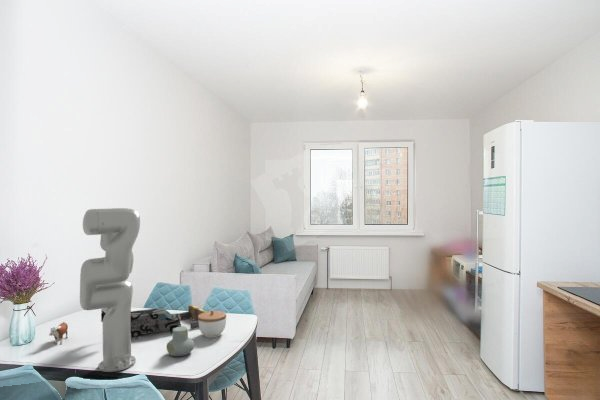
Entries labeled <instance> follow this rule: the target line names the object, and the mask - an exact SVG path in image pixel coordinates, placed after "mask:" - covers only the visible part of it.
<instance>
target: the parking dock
mask: <svg viewBox="0 0 600 400" xmlns="http://www.w3.org/2000/svg"><path fill="white" fill-rule="evenodd" d="M204 312H207V311H206V310H204V309H202V308H200V307H198V306H195V305H193V304H189V305H188V311H183V312H179V313H178V314H179V315H180V317H181V321H183V320H185V319H191V318H192V319H191V320H193V319H194V320H193V321H190V329H191V330H195V329H199V324H198V315H199V314H201V313H204Z"/></svg>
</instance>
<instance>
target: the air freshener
mask: <svg viewBox="0 0 600 400" xmlns="http://www.w3.org/2000/svg"><path fill="white" fill-rule="evenodd" d="M188 333H189V329H188V327H187V326H181V327H176V328H174V329H173V330H172V333H171V334H172V335H171V336H172V339H170V340H169V341H168V342H167V344H166V350H167V353H168V354H169V355H170V356H173V357H183V356H186V355H188V354H190V353H191V352H192V351H193V350H194V348H195V343H194V341H193V339H192V338H191V337H189V334H188Z"/></svg>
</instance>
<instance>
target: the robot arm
mask: <svg viewBox="0 0 600 400" xmlns="http://www.w3.org/2000/svg"><path fill="white" fill-rule="evenodd" d="M140 226H141V217H140V213H139V212H138V211H137V210H135V209H132V208H124V207H122V208H121V207H120V208H119V207H118V208H117V207H116V208H115V207H114V208H90V209H87V210H86V211H85V213H84V216H83V218H82V230H83V233H84V234H85V235H87V236H97V235H98V236H99V235H100V243H99V245H100V248H101V249H102V250H103V251H104V252H105V254H104V257H95V258H89V259H86V260H85V261H83V263H82V264H81V268H80V276H79V277H80V278H79V279H80V280H79V304H80V305H79V306H81V309H83V310H84V311H94V310H100V309H101V310H100V311H101V312H100V316H101V317H100V319H101V320H100V322H101V323H102V361H100V362H99V363H98V370H99V371H100V372H106V373H113V372H115V373H116V372H120V371H124V370H126V369H129V368H131V367H132V366H134V365H135V364H136V361H137V358H136V357H135V356H133V355H132V337H131V312H132V310H131V309H132V301H133V294H134V289H133V284H132V282H130V281H128V278H130V277H129V276H130V275H131V273H132V271H133V267H134V266H133V265H134V252H133V247H134V245H135V243H136V241H137V238H138V235H139V233H140Z"/></svg>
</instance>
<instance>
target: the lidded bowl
mask: <svg viewBox="0 0 600 400" xmlns="http://www.w3.org/2000/svg"><path fill="white" fill-rule="evenodd" d="M226 323H227V313H226V312H225V311H222V310H221V311H220V310H213V309H211V310H210V311H206V312H204V313H201V314H199V315H198V324H199V328H198V329H199V331H200V333H201V334H202V335H203V336H204V337H205V338H207V339H208V338H210V339H211V338H217V337H220V336H221V334H222V333H223V331H225V328H226Z"/></svg>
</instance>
